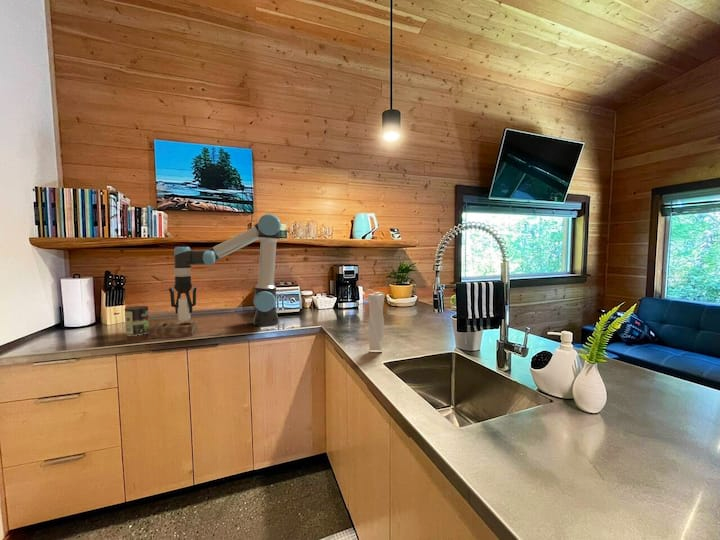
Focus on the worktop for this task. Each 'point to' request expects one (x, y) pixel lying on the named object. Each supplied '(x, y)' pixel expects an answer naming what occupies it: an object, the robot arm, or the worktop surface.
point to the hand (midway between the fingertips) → (184, 319)
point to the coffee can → (136, 320)
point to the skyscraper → (376, 320)
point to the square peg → (183, 309)
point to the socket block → (173, 329)
